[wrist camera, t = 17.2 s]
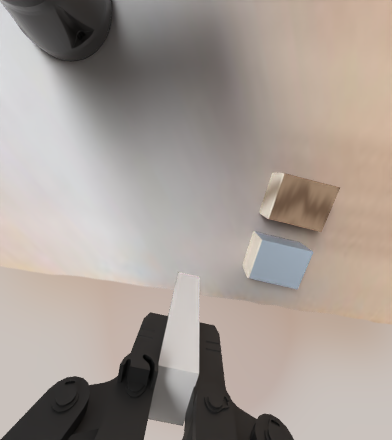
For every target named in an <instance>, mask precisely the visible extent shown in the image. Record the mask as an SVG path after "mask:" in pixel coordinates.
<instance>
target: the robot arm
mask: <svg viewBox="0 0 392 440" xmlns="http://www.w3.org/2000/svg"><path fill="white" fill-rule="evenodd" d="M0 1H1V3H2V4H3V5H4V7H5V8H6V9H7V11H8V12H9V13H10V15H11V16H12V17H13V19H14V20H15V21H16V23H17V25H18V26H19V27H20V29H21V30H22V31H23V33H24V34H25V35H26V36H27V37H28V38H29V39H30V40H31V41H32V42H33V43H35V44H36V45H37V46H39V47H40V48H41V49H43V50H44V51H45V52H47V53H48V54H50V55H51V56H53V57H56V58H58V59H62V60H67V61H76V60H81V59H84V58H86V57H88V56H90V55H92V54H93V53H94V52H96V51H97V50H98V49H99V47H100V46H101V45H102V43H103V42H104V40H105V38H106V36H107V34H108V31H109V28H110V23H111V14H112V7H111V0H0ZM199 298H200V277H199V276H194V275H190V274H185V273H181V272H178V276H177V280H176V284H175V289H174V293H173V297H172V302H171V306H170V310H169V315H168V316H164V315H160V314H155V313H149V314H148V315H147V316H146V317H145V318H144V320H143V322H142V325H141V328H140V330H139V333H138V336H137V338H136V341H135V343H134V346H133V348H132V351H131V353H130V354H129V355H127V356H126V357H125V358H124V359H123V361H122V363H121V364H120V369H119V374H118V376H117V377H116V378H114V379H113V380H111V381H108V382H105V383H100V384H94V385H88V382H87V381H86V380H84V379H83V378H80V377H76V376H74V377H67V378H65V379H63V380H61V381H59V382H57V383H56V384H55V385H53V386H52V387H51V388H50V389H49V390H48V391H47V392H46V393H45V394H44V395H43V396H42V397H41V398H40V399H39V400H38V401H37V402H36V403H35V404H34V405H33V406H32V407H31V409H30V410H29V411H28V412H27V413H26V414H25V415H24V416H23V417H22V418H21V419H20V420H19V421H18V422H17V423H16V424H15V425H14V426H13V427H12V428H11V429H10V430H9V432H7V434H6V435H5V436H4V437H3V438H2V439H1V440H144V435H145V430H146V425H147V421H148V419H151V420H156V421H161V422H167V423H171V424H176V425H182V426H183V423H184V420H185V429H184V431H185V432H184V436H183V439H182V440H294V439H293V437H292V435H291V434H290V432H289V431H288V429H287V427H286V426H285V425H284V424H283V423H282V422H281V421H280V420H279V419H278V418H276V417H274V416H273V415H269V414H262V415H260V416H259V417H258V419H256V418H254V417H252V416H250V415H249V414H247V413H246V412H244V411H243V410H241V409H240V408H238V407H237V406H236V405H235V404H234V403H233V402H232V400H231V398H230V396H229V394H228V393H227V391H226V387H225V381H224V372H223V363H222V355H221V346H220V337H219V333H218V331H217V329H216V327H215V326H214V325H209V324H205V323H200V322H199V315H200V314H199V313H200V308H199V307H200V299H199Z"/></svg>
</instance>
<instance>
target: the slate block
mask: <svg viewBox="0 0 392 440" xmlns="http://www.w3.org/2000/svg"><path fill="white" fill-rule="evenodd" d="M312 254H313V251H311V250H310V249H309V248H307V247H306V246H304V245H303V244H302V243H300V242H297V241H292V240H288V239H284V238H280V237H276V236H272V235H267V234H263V233H259V232H255V231H253V234H252V237H251V240H250V243H249V246H248V249H247V252H246V255H245V258H244V261H243V264H242V267H243V269H244V271H245V274H246V276H247V278H250V279H254V280H258V281H263V282H267V283H271V284H276V285H280V286H285V287H289V288H293V289H298V287H299V285H300V283H301V280H302V278H303V275H304V273H305V271H306V268H307V266H308V264H309V261H310V259H311V256H312Z"/></svg>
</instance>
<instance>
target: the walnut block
mask: <svg viewBox="0 0 392 440" xmlns="http://www.w3.org/2000/svg"><path fill="white" fill-rule="evenodd" d="M339 189H340V188H339V187H336V186H332V185H328V184H324V183H320V182H316V181H312V180H308V179H304V178H300V177H297V176H293V175H289V174H285V173H272V175H271V178H270V181H269V184H268V187H267V190H266V193H265V196H264V199H263V202H262V205H261V208H260V211H259V213H260V214H261V215H263V216H264V217H266V218H267V219H271V220H275V221H279V222H283V223H287V224H291V225H295V226H299V227H303V228H307V229H311V230H315V231H319V232H321V231H322V229H323V227H324V224H325V222H326V220H327V217H328V215H329V213H330V210H331V208H332V205H333V203H334V201H335V198H336V196H337V194H338V191H339Z"/></svg>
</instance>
